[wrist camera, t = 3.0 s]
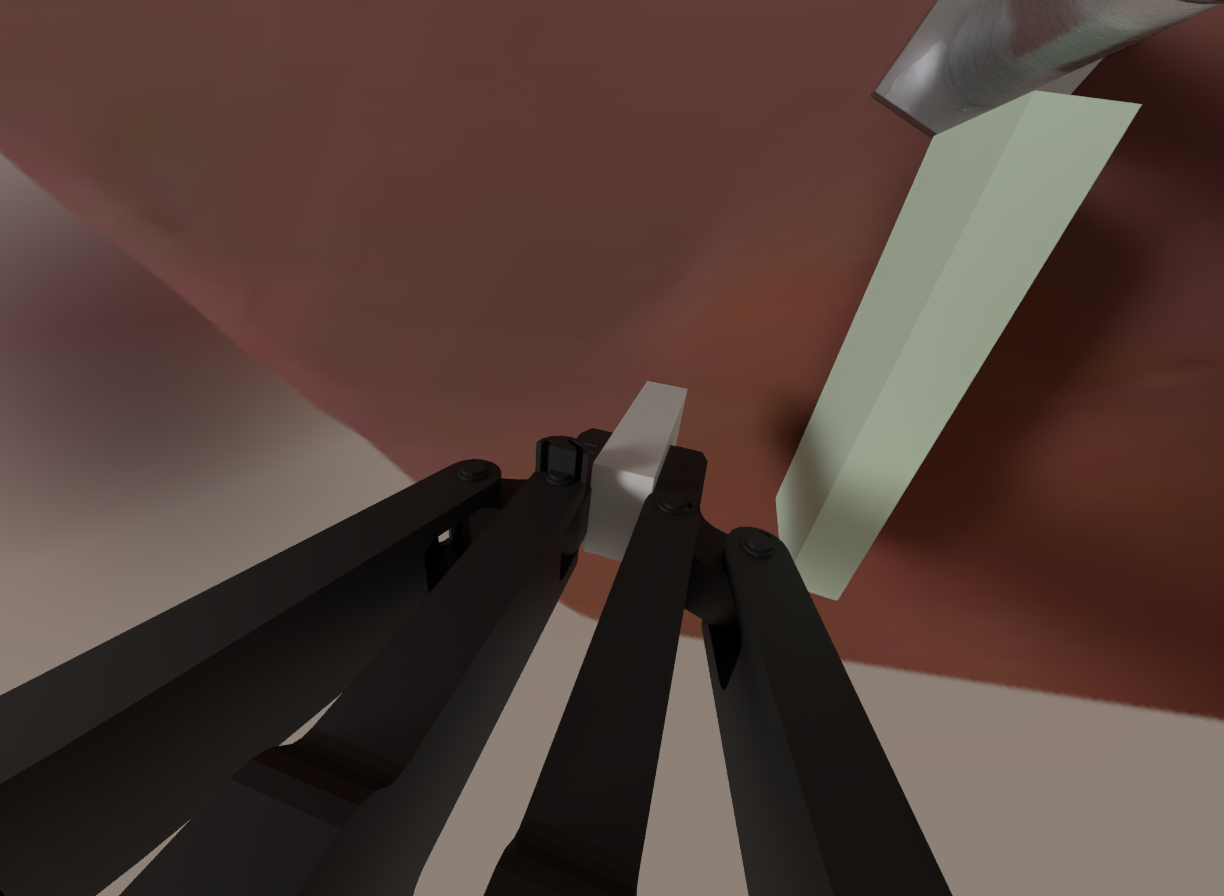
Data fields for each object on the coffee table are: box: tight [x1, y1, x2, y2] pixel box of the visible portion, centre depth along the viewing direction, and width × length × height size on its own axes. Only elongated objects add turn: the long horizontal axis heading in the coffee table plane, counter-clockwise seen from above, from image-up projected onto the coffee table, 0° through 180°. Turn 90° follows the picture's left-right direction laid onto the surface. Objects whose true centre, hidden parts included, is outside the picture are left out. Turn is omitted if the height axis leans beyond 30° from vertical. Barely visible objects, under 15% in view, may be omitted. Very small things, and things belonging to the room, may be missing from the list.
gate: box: [776, 90, 1142, 601], centre depth 15 cm, size 15×2×6 cm, turn 170°
